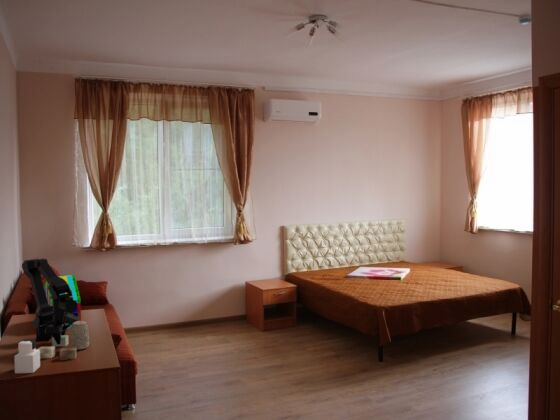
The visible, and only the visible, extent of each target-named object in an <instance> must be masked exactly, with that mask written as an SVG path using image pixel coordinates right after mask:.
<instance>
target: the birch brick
mask: <svg viewBox="0 0 560 420" xmlns="http://www.w3.org/2000/svg"><path fill="white" fill-rule="evenodd" d="M36 350H40V359H52V357H53V358H54V357H55V356H56V346H52V345H51V346H40V347H38V348H36Z"/></svg>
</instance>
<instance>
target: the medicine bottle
mask: <svg viewBox="0 0 560 420" xmlns="http://www.w3.org/2000/svg"><path fill="white" fill-rule="evenodd" d="M17 348H18V352H17V354H15V355H14V358H13V360H14V363H13V364H14V374H34V373H35V372H36V371H37V370H38V369H39V368H40V367H41V358H40V350H37V348H36V341H35V339H33V338H26V339H22V340H20V341H19V342H18V347H17Z"/></svg>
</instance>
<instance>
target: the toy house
mask: <svg viewBox="0 0 560 420" xmlns="http://www.w3.org/2000/svg"><path fill="white" fill-rule="evenodd" d="M57 276H58V275H57ZM58 277H60V278H63V279H64V280H65V281H66V282H67V283H68V285H69V287H70V289H71V291H72V295H73V296H71V297H73V300H75V301H76V302H77V304H78V306H77V309H76V310H75V311H74V312H73V313H69V314H74V313H76V312H78V313H79V315H80V320H79V321H82V309H81V308H82V307H81V306H82V304H81V296H80V295H81V294H80V291H79V288H78V284H77V280H76V275H75V274H70V275H62V276H61V275H60V276H58ZM48 286H49V284H48V282H47V281H46V280H45V284H44V289H45V293H46V297H47V301H48V304H49V305H50V306H53V300H52V299H51V298H50V297H51V296H52V295H51V293H50V292H49V289H48ZM64 294H66V293H64ZM59 295H61V294H59ZM67 329H72V325H70V326H69V327H68V328H67Z"/></svg>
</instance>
